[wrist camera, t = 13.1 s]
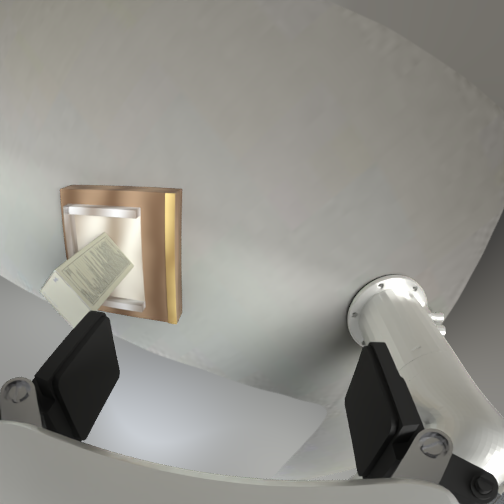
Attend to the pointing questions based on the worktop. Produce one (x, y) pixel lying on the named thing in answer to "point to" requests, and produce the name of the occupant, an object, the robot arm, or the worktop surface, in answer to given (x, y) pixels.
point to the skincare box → (86, 279)
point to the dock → (132, 243)
